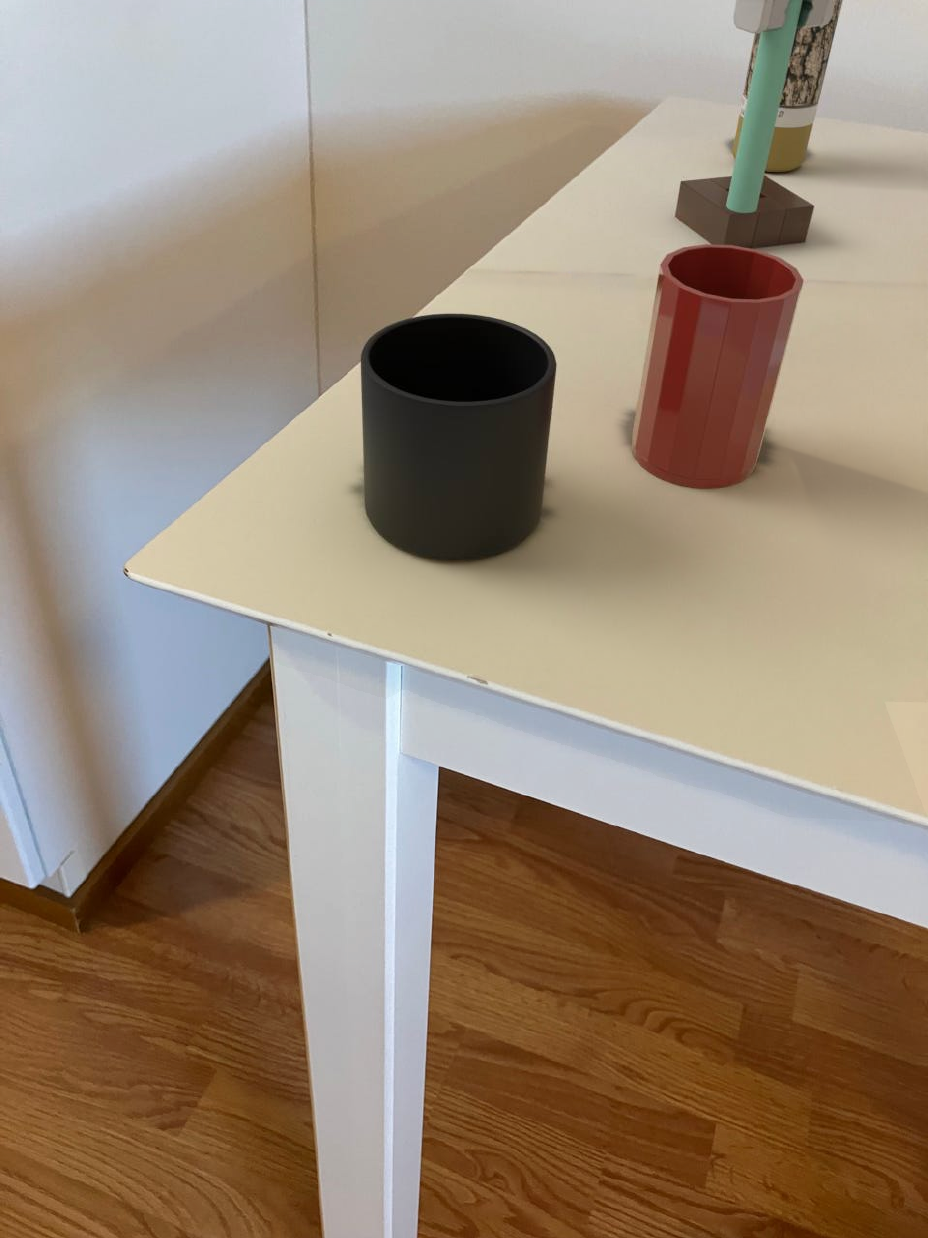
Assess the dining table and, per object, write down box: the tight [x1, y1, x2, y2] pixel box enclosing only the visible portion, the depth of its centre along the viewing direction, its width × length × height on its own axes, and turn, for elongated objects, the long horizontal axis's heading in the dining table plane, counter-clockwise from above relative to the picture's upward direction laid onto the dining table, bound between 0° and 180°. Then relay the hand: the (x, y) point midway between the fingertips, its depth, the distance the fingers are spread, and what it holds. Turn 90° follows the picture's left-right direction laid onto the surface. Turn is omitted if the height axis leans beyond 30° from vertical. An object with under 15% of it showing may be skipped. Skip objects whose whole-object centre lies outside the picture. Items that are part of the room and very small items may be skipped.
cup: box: [631, 243, 805, 489], centre depth 59 cm, size 7×7×11 cm
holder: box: [674, 174, 815, 250], centre depth 85 cm, size 8×8×4 cm
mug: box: [360, 313, 557, 562], centre depth 55 cm, size 9×12×9 cm
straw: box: [726, 0, 803, 213], centre depth 48 cm, size 2×2×16 cm
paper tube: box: [732, 0, 844, 173], centre depth 94 cm, size 7×7×25 cm
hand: (780, 26), depth 48 cm, fingers closed on straw, 1 cm apart
